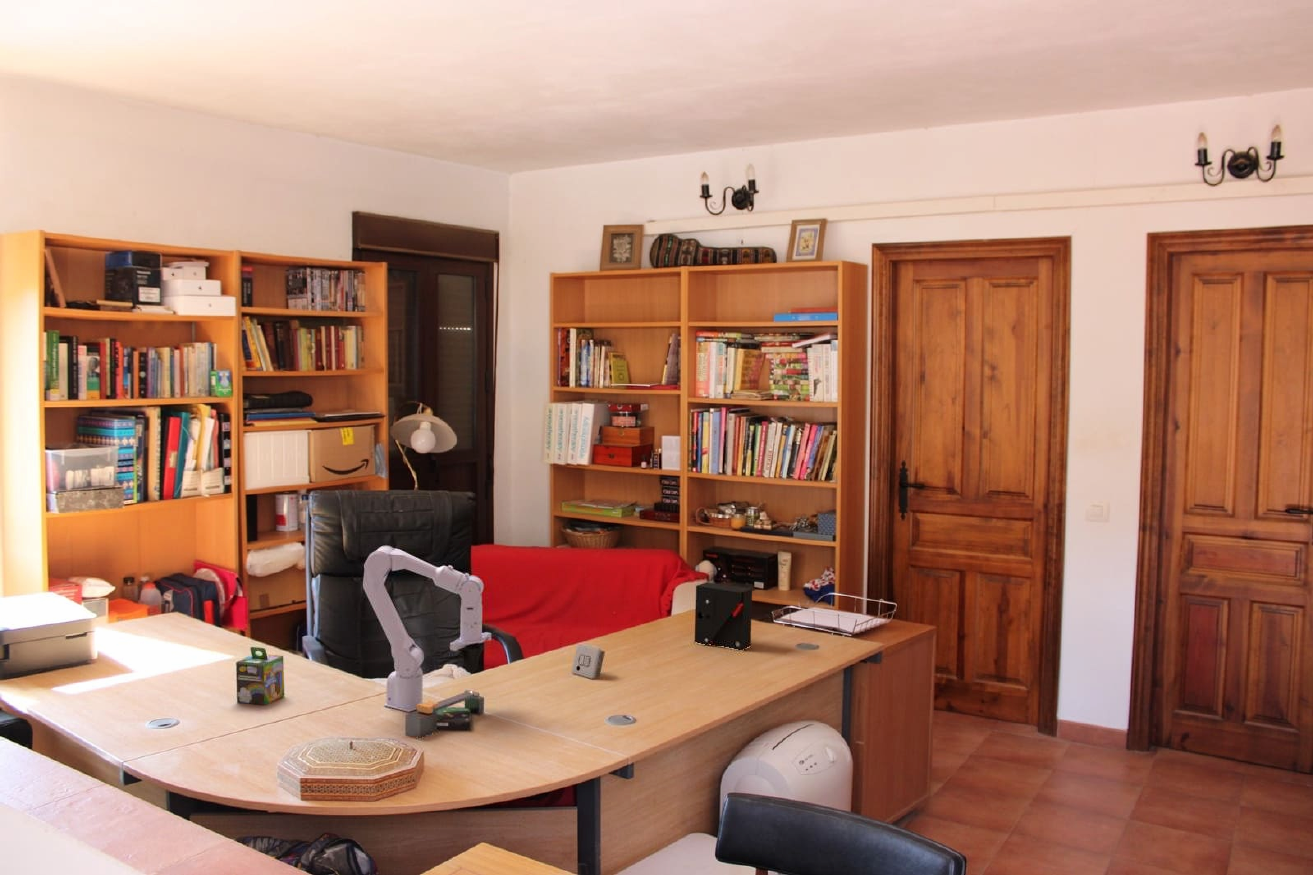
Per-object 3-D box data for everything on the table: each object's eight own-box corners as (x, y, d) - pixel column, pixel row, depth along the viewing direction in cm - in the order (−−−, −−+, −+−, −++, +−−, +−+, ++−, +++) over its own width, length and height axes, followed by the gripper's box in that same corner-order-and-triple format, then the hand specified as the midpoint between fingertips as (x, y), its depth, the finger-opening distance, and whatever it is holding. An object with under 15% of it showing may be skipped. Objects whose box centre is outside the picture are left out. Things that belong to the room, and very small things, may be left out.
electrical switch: (570, 673, 325) (573, 643, 325) (582, 672, 329) (585, 642, 329) (592, 680, 319) (595, 649, 319) (604, 678, 323) (607, 647, 323)
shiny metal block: (405, 734, 268) (405, 715, 268) (469, 710, 289) (469, 691, 288) (420, 738, 266) (420, 719, 265) (483, 713, 286) (484, 695, 286)
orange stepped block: (416, 710, 271) (417, 704, 271) (427, 706, 274) (427, 700, 274) (428, 713, 269) (428, 707, 268) (439, 709, 272) (439, 703, 272)
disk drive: (471, 732, 273) (469, 717, 287) (472, 721, 273) (470, 706, 287) (430, 731, 270) (430, 716, 285) (430, 720, 270) (431, 705, 285)
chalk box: (285, 696, 297) (285, 644, 296) (264, 706, 288) (264, 652, 287) (256, 693, 300) (256, 641, 299) (235, 702, 291) (235, 649, 290)
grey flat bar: (421, 711, 272) (421, 706, 272) (467, 694, 287) (468, 689, 287) (432, 714, 270) (432, 709, 270) (479, 697, 285) (479, 691, 285)
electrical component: (753, 646, 363) (755, 587, 362) (739, 652, 354) (741, 592, 353) (708, 638, 372) (709, 581, 371) (693, 644, 364) (695, 586, 363)
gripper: (464, 629, 281) (463, 680, 282) (500, 619, 294) (499, 667, 295) (444, 625, 285) (443, 675, 286) (480, 615, 298) (479, 663, 298)
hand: (470, 671), depth 291 cm, fingers closed
